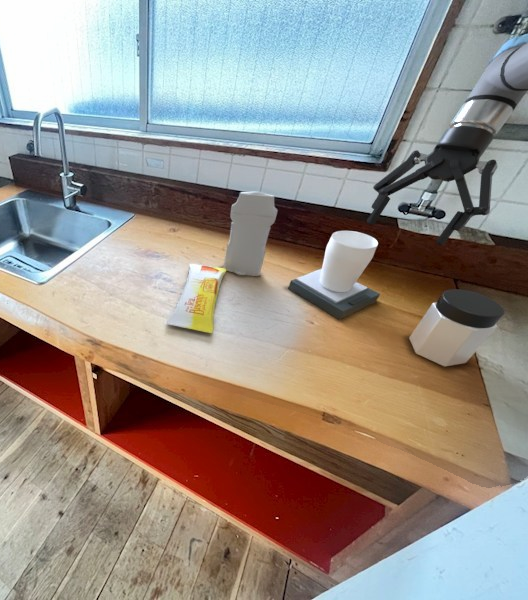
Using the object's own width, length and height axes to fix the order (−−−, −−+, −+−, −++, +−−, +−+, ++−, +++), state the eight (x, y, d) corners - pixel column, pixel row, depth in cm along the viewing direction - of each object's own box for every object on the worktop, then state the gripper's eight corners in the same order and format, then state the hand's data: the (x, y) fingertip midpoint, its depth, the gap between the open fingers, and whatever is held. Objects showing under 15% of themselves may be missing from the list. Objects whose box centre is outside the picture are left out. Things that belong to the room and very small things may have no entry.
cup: (361, 283, 77) (383, 237, 70) (350, 300, 72) (373, 253, 64) (321, 270, 82) (337, 226, 75) (308, 286, 77) (325, 240, 69)
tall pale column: (262, 271, 88) (282, 191, 75) (260, 279, 85) (281, 197, 72) (223, 264, 92) (235, 186, 79) (220, 271, 89) (232, 192, 76)
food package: (212, 329, 67) (166, 320, 70) (211, 337, 68) (165, 328, 71) (227, 265, 87) (190, 259, 90) (226, 272, 88) (190, 266, 91)
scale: (375, 302, 76) (381, 291, 74) (339, 319, 71) (344, 309, 69) (322, 274, 86) (326, 264, 84) (288, 288, 81) (291, 278, 79)
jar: (436, 333, 67) (471, 286, 59) (476, 362, 60) (521, 313, 53) (397, 339, 66) (428, 291, 59) (434, 369, 59) (474, 320, 52)
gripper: (563, 147, 56) (477, 257, 63) (405, 133, 75) (351, 220, 82) (564, 129, 52) (471, 250, 59) (395, 119, 70) (339, 212, 77)
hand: (401, 233), depth 70 cm, fingers open, 13 cm apart
